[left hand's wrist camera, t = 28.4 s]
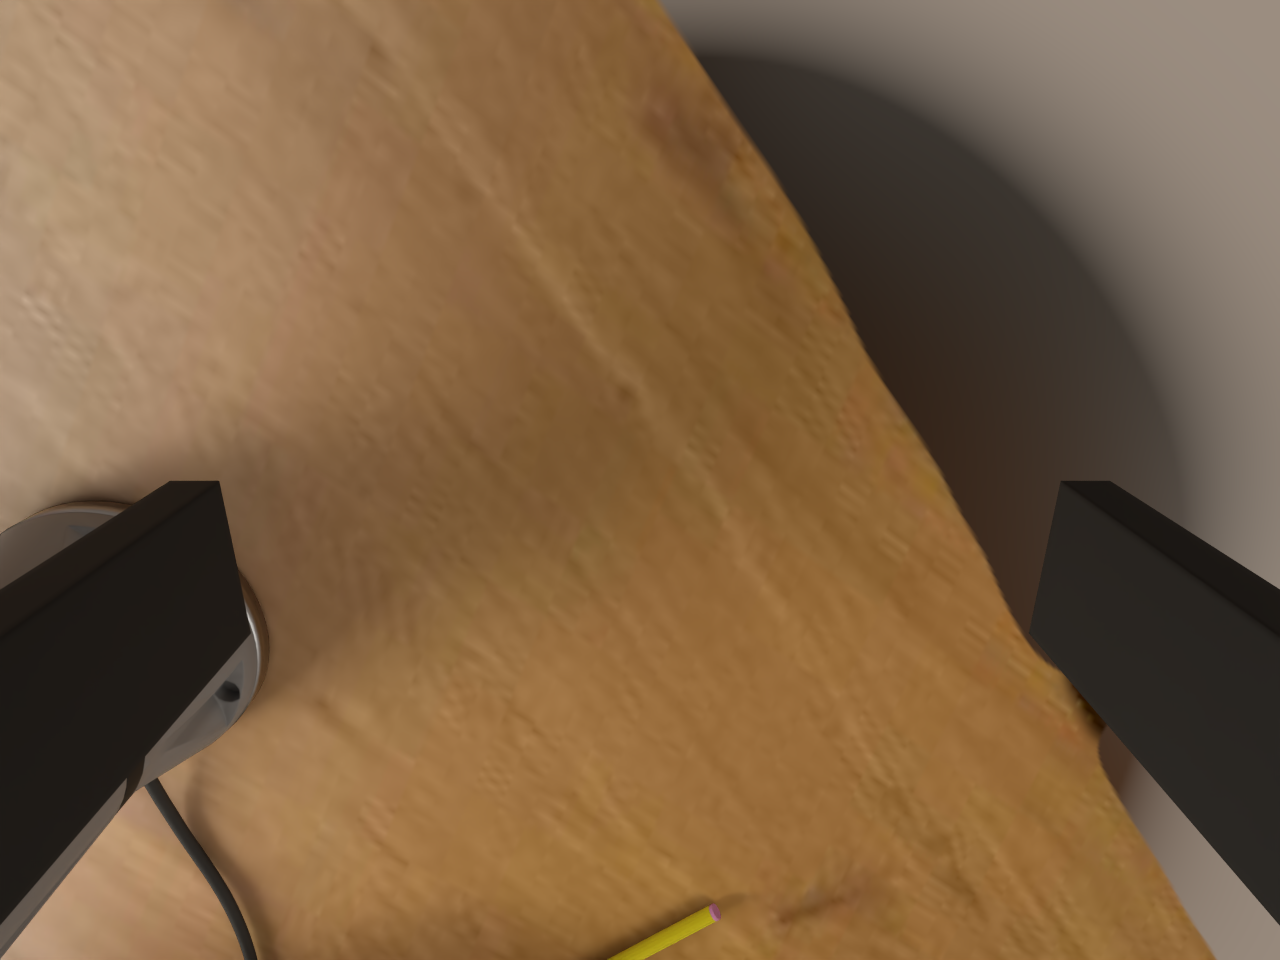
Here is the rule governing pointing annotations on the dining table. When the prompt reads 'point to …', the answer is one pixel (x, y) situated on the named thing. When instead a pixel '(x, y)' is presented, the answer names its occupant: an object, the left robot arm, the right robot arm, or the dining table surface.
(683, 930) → the pencil
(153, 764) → the left robot arm
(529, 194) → the dining table surface
